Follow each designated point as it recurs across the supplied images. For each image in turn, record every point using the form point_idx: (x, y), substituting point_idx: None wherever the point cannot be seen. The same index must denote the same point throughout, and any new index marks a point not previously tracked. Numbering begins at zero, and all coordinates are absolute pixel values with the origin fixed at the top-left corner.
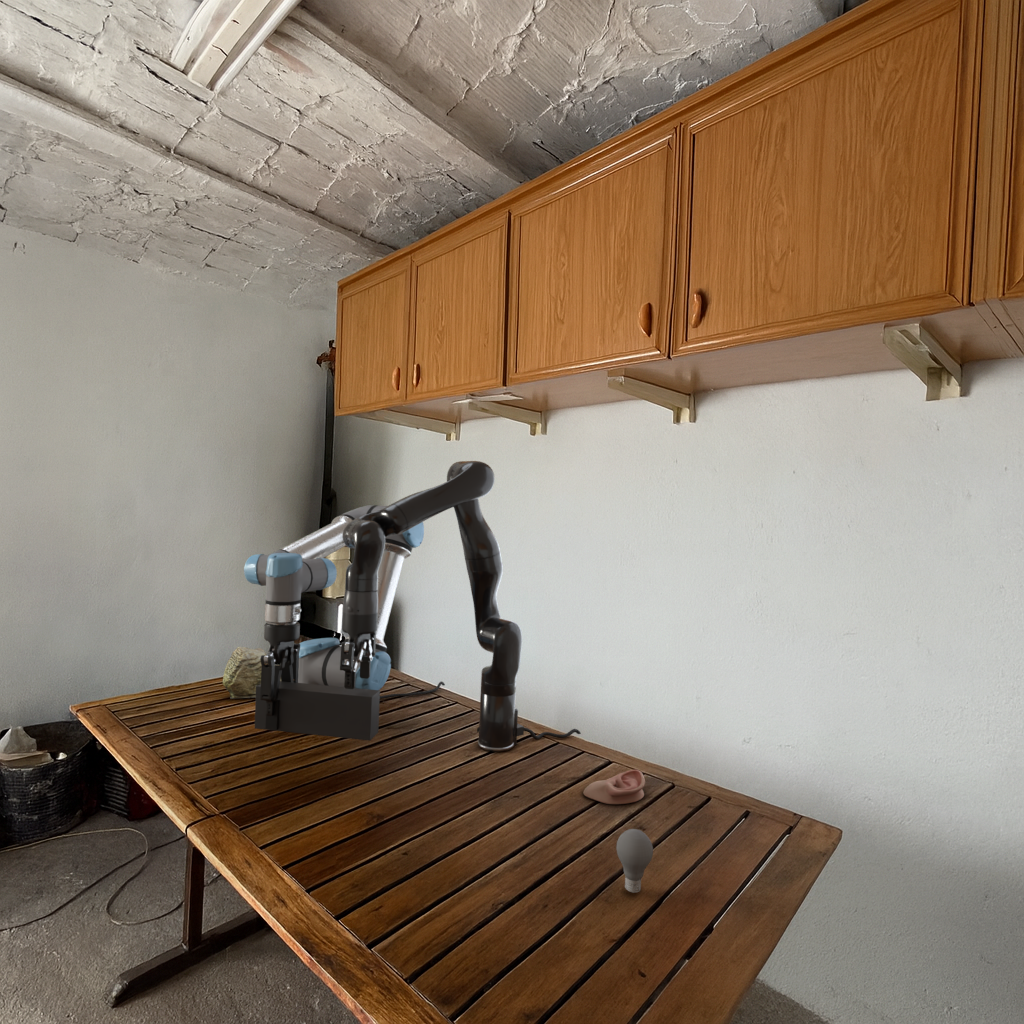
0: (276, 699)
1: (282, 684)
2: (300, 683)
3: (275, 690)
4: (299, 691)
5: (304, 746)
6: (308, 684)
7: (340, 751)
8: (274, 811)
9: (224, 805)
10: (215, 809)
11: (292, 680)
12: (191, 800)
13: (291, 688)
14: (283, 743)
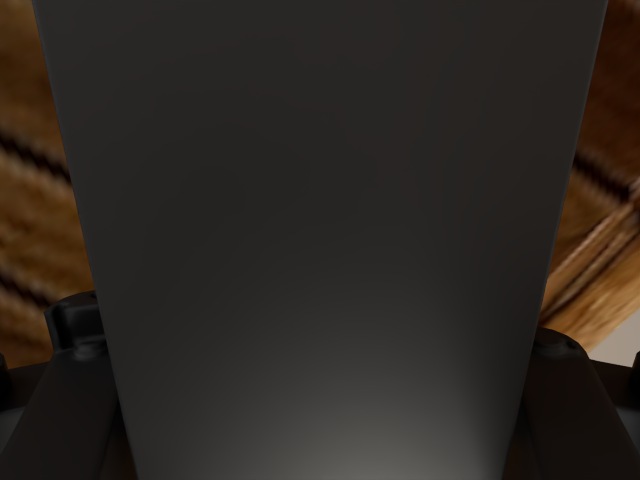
0: (549, 331)
1: (295, 478)
2: (115, 244)
3: (621, 436)
4: (587, 18)
5: (46, 199)
6: (96, 28)
7: (13, 15)
8: (618, 18)
9: (574, 217)
10: (602, 228)
11: (49, 441)
12: (544, 324)
13: (489, 253)
14: (61, 287)
